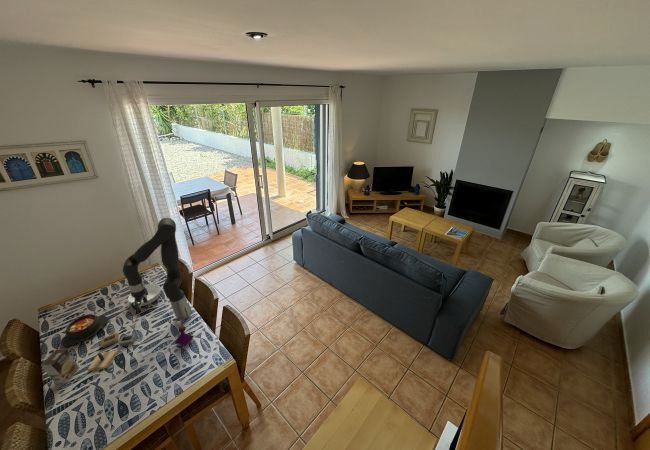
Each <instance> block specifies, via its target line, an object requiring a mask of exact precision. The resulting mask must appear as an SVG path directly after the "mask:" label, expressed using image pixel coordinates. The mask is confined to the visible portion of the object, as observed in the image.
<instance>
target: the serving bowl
mask: <svg viewBox="0 0 650 450" xmlns="http://www.w3.org/2000/svg"><path fill="white" fill-rule="evenodd" d="M144 286H145V288H146V289H147V292H148V295H147V301H148V302H147V303H144V302H143V300H142V304H141V307H144V306H148V305H150V304H152V303H154V302H155V301H156V300H157V299H158V298H159V297H160V295H161V292H162V288H161V286H160V285H159V284H157V283H149V284H144ZM127 301H128V302H129V304H131V305H132V302H134V301H135V298H134V297H132V296H131V293H130V294H129V296H128V297H127ZM137 303H140V302H137ZM138 307H139V305H138Z"/></svg>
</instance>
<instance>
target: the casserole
mask: <svg viewBox="0 0 650 450" xmlns="http://www.w3.org/2000/svg"><path fill="white" fill-rule="evenodd" d="M109 320H110V319H109V317H108V316H106V315H96V314H93V313H91V314H85V315H81V316H79V317H77V318H75V319H74V320H72V321H71V322H70V323H69V324H68V325H67V326H66V327H65V335H64V336H63V337H62V338H61V340H60V344H61V345H62V346H64V347H71V346H73V345H76V344H77V343H80V342H82V341H85V340H88V339H89V338H91V337H93V336H95V335H96V334H97V333H98V332H100V331H101V330H102V328H103V327H104V326H105V325H106V324H107V323H108V322H109Z"/></svg>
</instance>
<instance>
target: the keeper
mask: <svg viewBox="0 0 650 450" xmlns="http://www.w3.org/2000/svg"><path fill="white" fill-rule="evenodd" d="M117 355H118V351H117V350H112V351H105V352H98V353H97V355H96V356H95V358H94V359H93V361H92V362H91V363H90V365H89V367H88V368H87V370H88V371H95V370H102V369H109V367H111V364H112V363H113V361H114V360H115V357H116V356H117Z"/></svg>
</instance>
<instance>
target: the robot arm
mask: <svg viewBox="0 0 650 450" xmlns="http://www.w3.org/2000/svg"><path fill="white" fill-rule="evenodd" d="M176 232H177V224H176V222H175V221H174V219H172V218H171V217H163V218H161V219H160V220H159V222H158V223H157V230H156V232H155V234H154V235H153V236H152V237H151V239H149V240H148V241H146V242H145V243H143V244H142V245H140V247H138V248H137V250H136V251H135V252H133V254H131V255H130V256H129V257H128V258H127V259H126V260H125V262H124V264H123V266H122V273H123V275H124V277H125V278H126V281H127V284H128V289H129V292H130V294H131V296H132V297H134V298H135V301H134V302H132V304H131V305H132V309H133V311H136V312H137V313H139V314H140V313H142V306H141V304H142V300H143V302H144V303H147V302H148V301H147V295H148V292H147V289H146V288H145V286H144V285H145V283H144V281H143V278H142V274H141V273H140V272H139V265H140V264H141V263H143V262H145V261H146V260H148V259H149V257H150V256H151V255H152V254H153V253H154V252H155V251H156V250H157V249H158V248H159V247H160V246H161V247H160V249H161V250H160V256H161V262H162V265H163V266H164V268H165V269H166V279H165V281H164V282H163V285H162V288H163V292H164V294H165V296H166V298H167V299H168V300H169V302H170V303H169V304H170V305H171V307H172V310H173V313H174V315H175V319H176V320H177V321H183V319H184V320H186V319H189V318H190V317H191V315H192V312H191V311H192V308H191V305H190V303H189V301H188V300H187V297H186V294H185V291H184V290H182V289H181V288H180V287H181V284H182V276H181V271H180V261H179V260H180V258H179V257H180V255H179V250H178V244H177V241H176ZM137 302H140V303H137ZM138 305H139V306H138ZM189 316H190V317H189ZM188 317H189V318H188Z"/></svg>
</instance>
